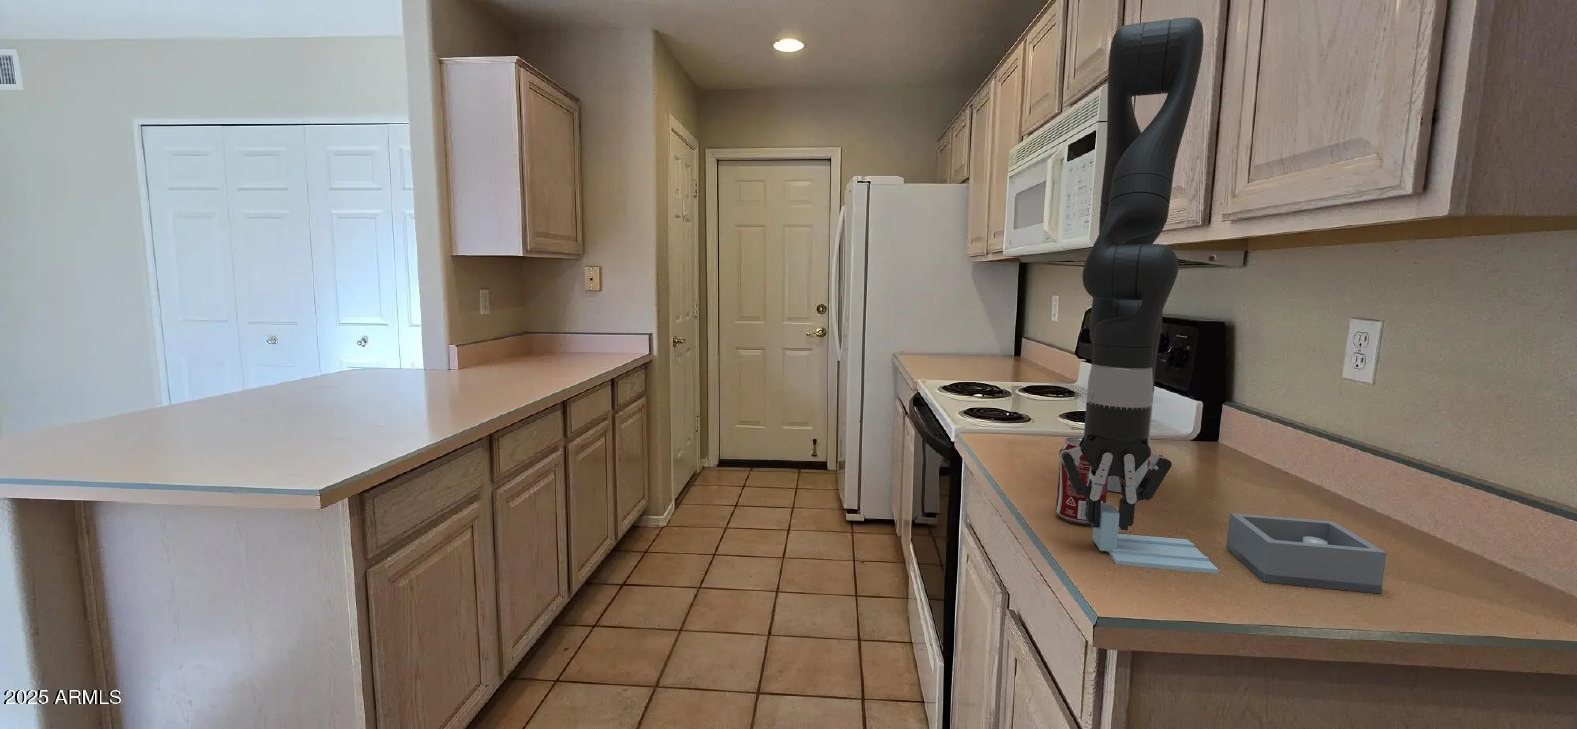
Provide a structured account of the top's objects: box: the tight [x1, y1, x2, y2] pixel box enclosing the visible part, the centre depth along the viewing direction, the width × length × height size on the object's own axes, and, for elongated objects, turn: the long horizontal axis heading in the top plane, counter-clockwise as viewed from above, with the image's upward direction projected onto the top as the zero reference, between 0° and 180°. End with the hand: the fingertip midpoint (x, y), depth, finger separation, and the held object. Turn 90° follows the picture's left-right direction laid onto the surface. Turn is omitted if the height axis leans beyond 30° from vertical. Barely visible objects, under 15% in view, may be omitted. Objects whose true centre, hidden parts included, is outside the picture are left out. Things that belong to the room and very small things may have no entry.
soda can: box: [1055, 436, 1108, 526], centre depth 96 cm, size 7×7×12 cm
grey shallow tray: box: [1225, 512, 1387, 595], centre depth 80 cm, size 10×12×5 cm
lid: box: [1092, 502, 1219, 575], centre depth 84 cm, size 10×13×6 cm
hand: (1108, 526), depth 85 cm, fingers open, 3 cm apart
